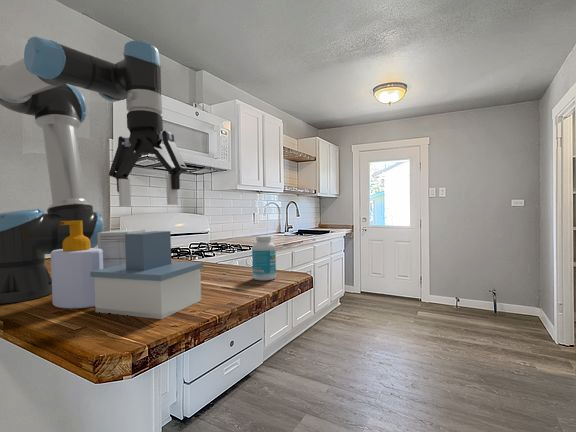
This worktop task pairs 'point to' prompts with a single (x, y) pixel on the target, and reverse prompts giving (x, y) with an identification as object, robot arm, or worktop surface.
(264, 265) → the pill bottle
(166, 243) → the lid
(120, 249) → the supplement box
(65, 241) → the soap bottle
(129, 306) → the tub
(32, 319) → the worktop surface
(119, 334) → the worktop surface
